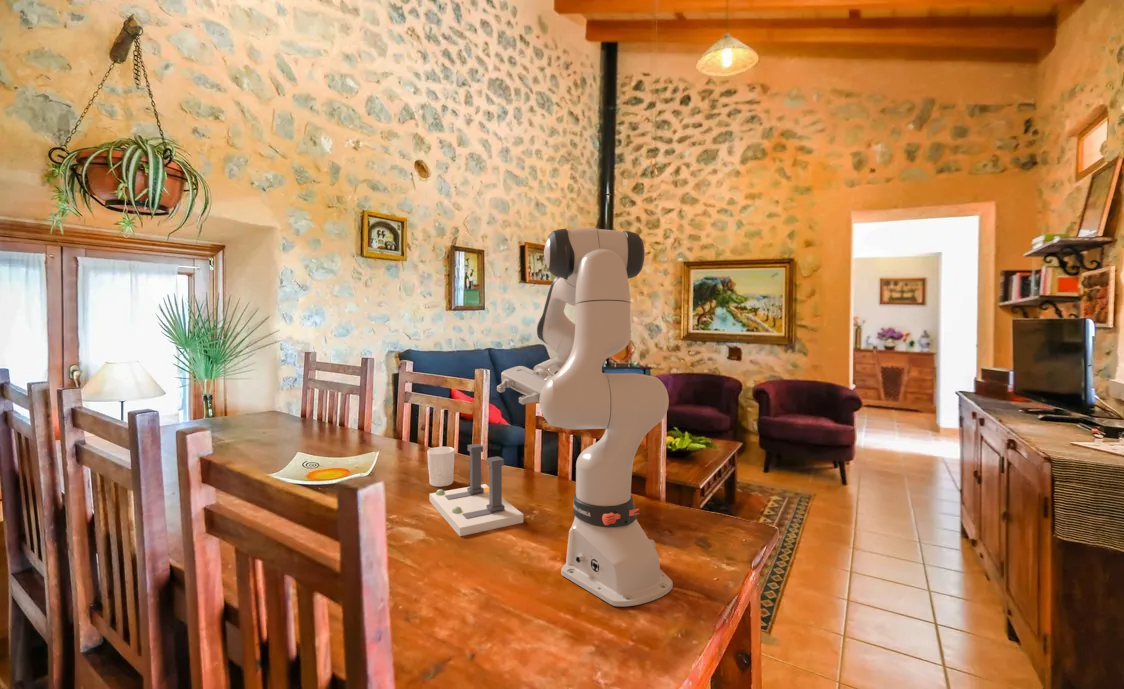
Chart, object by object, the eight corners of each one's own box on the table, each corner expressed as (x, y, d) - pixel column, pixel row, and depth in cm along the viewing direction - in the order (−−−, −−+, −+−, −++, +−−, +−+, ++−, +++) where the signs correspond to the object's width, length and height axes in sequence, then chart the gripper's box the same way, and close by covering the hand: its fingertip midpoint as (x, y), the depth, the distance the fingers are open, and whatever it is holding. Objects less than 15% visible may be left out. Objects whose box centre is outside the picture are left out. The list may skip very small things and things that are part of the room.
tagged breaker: (483, 491, 138) (483, 446, 138) (471, 494, 137) (470, 447, 136) (479, 488, 141) (479, 443, 140) (467, 490, 139) (466, 445, 139)
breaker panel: (523, 522, 125) (523, 509, 124) (459, 536, 117) (459, 522, 116) (485, 490, 146) (485, 479, 146) (429, 500, 138) (429, 489, 138)
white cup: (451, 487, 149) (451, 453, 148) (424, 487, 149) (423, 453, 148) (457, 479, 156) (457, 446, 156) (431, 478, 157) (431, 446, 156)
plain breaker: (504, 509, 126) (504, 459, 125) (491, 512, 125) (491, 461, 124) (499, 505, 129) (499, 456, 128) (486, 507, 127) (486, 458, 126)
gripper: (522, 357, 152) (484, 373, 144) (571, 378, 139) (533, 397, 130) (524, 375, 155) (487, 392, 146) (572, 398, 141) (534, 419, 133)
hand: (509, 395), depth 138 cm, fingers open, 8 cm apart
